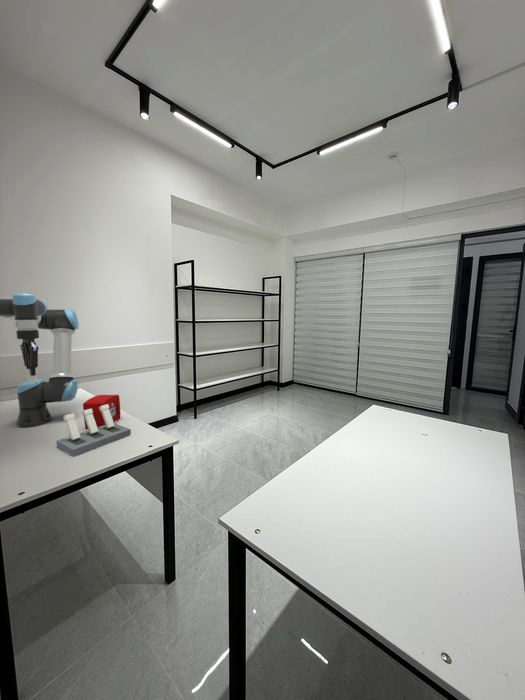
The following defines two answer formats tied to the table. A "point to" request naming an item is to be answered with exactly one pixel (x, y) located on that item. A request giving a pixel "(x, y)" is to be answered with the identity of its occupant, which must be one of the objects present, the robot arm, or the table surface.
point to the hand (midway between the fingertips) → (32, 382)
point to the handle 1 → (90, 421)
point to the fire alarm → (99, 401)
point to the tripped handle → (72, 426)
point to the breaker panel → (92, 439)
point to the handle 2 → (107, 416)
